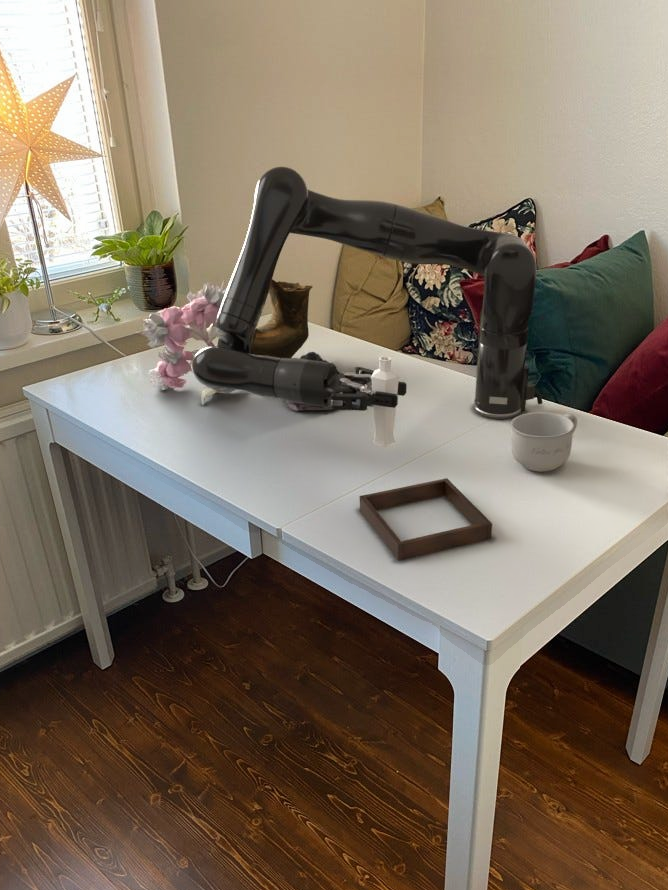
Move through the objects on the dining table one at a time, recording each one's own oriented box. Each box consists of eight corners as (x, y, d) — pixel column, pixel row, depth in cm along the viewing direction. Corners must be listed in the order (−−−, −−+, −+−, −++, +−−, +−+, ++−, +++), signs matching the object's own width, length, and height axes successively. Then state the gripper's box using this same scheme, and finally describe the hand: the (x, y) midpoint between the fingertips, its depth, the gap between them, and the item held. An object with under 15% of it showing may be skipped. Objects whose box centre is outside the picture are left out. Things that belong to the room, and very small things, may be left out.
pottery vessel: (239, 391, 182) (230, 296, 172) (207, 377, 189) (196, 285, 178) (325, 358, 198) (322, 270, 187) (293, 347, 204) (288, 261, 194)
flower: (232, 354, 196) (170, 259, 180) (286, 374, 180) (224, 271, 164) (165, 412, 190) (95, 319, 174) (215, 438, 174) (142, 338, 158)
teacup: (531, 483, 149) (535, 441, 145) (495, 457, 158) (499, 416, 153) (595, 466, 155) (602, 424, 151) (558, 441, 163) (563, 402, 159)
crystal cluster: (333, 422, 171) (337, 373, 166) (270, 407, 174) (272, 359, 169) (357, 401, 183) (361, 355, 178) (297, 387, 186) (300, 341, 181)
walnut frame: (446, 492, 147) (447, 477, 145) (491, 538, 135) (492, 523, 133) (359, 510, 142) (359, 495, 140) (398, 560, 129) (398, 544, 128)
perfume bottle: (394, 448, 149) (396, 365, 141) (369, 445, 150) (370, 362, 142) (399, 436, 153) (401, 355, 145) (375, 434, 154) (376, 352, 146)
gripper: (288, 376, 142) (389, 390, 138) (320, 346, 154) (414, 358, 150) (291, 418, 146) (388, 433, 142) (321, 386, 158) (412, 399, 154)
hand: (401, 395), depth 146 cm, fingers closed on perfume bottle, 4 cm apart
